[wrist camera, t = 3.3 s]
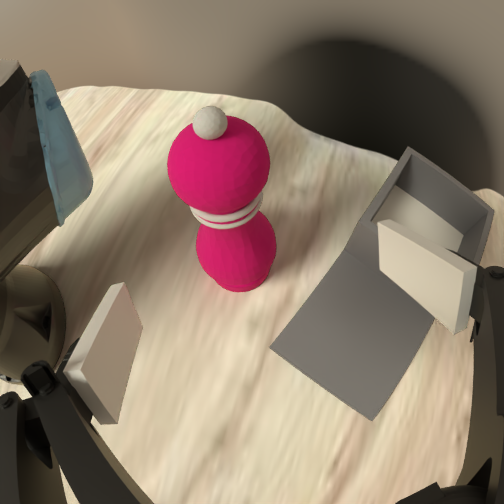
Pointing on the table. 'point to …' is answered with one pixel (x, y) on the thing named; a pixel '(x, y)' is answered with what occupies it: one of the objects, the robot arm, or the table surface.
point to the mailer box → (381, 289)
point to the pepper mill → (225, 196)
